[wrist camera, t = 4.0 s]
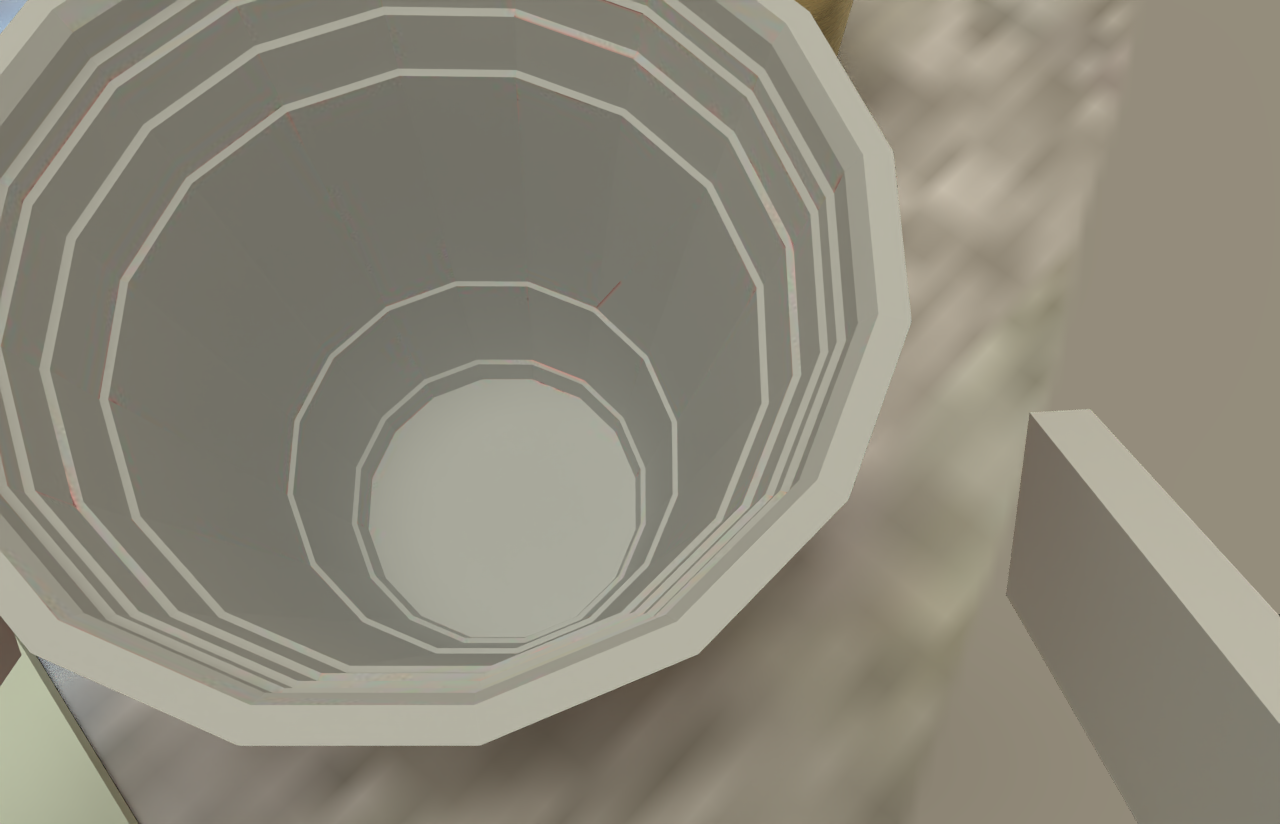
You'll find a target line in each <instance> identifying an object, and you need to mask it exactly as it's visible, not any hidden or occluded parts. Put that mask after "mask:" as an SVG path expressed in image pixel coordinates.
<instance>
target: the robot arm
mask: <svg viewBox="0 0 1280 824" xmlns="http://www.w3.org/2000/svg"><path fill="white" fill-rule="evenodd" d="M1006 596H1007V597H1008V599H1009V601H1010V602H1011V604H1012V606H1013V608H1014V609H1015V611H1016V613H1017V614H1018V616H1019V618H1020V620H1021V621H1022V623H1023V625H1024V626H1025V628H1026V630H1027V632H1028V634H1029V635H1030V637H1031V639H1032V641H1033V642H1034V644H1035V646H1036V648H1037V649H1038V651H1039V653H1040V654H1041V656H1042V658H1043V660H1044V661H1045V663H1046V665H1047V666H1048V668H1049V670H1050V672H1051V674H1052V675H1053V677H1054V679H1055V680H1056V682H1057V684H1058V686H1059V687H1060V689H1061V691H1062V693H1063V694H1064V696H1065V698H1066V699H1067V701H1068V703H1069V705H1070V706H1071V708H1072V710H1073V711H1074V713H1075V715H1076V717H1077V719H1078V720H1079V722H1080V724H1081V725H1082V727H1083V729H1084V731H1085V732H1086V734H1087V736H1088V738H1089V739H1090V741H1091V743H1092V745H1093V746H1094V748H1095V750H1096V752H1097V753H1098V755H1099V757H1100V758H1101V760H1102V762H1103V764H1104V765H1105V767H1106V769H1107V771H1108V772H1109V774H1110V776H1111V778H1112V779H1113V781H1114V783H1115V785H1116V786H1117V788H1118V790H1119V791H1120V793H1121V795H1122V797H1123V798H1124V800H1125V802H1126V803H1127V805H1128V807H1129V809H1130V811H1131V812H1132V814H1133V816H1134V817H1135V819H1136V821H1137V823H1138V824H1280V614H1279V615H1278V614H1277V613H1276V612H1275V611H1274V610H1273V608H1271V606H1270V605H1269V604H1268V603H1267V602H1266V601H1265V600H1264V599H1263V598H1262V596H1261V595H1260V594H1259V593H1258V592H1257V591H1256V590H1255V589H1254V588H1253V587H1252V585H1251V584H1250V583H1249V582H1248V581H1247V580H1246V579H1245V578H1244V577H1243V576H1242V575H1241V573H1240V572H1239V571H1238V570H1237V569H1236V568H1235V567H1234V566H1233V565H1232V564H1231V562H1230V561H1229V560H1228V559H1227V558H1226V557H1225V556H1224V555H1223V554H1222V553H1221V552H1220V550H1219V549H1218V548H1217V547H1216V546H1215V545H1214V544H1213V543H1212V542H1211V541H1210V539H1209V538H1208V537H1207V536H1206V535H1205V534H1204V533H1203V532H1202V531H1201V530H1200V529H1199V527H1198V526H1197V525H1196V524H1195V523H1194V522H1193V521H1192V520H1191V519H1190V518H1189V517H1188V515H1187V514H1186V513H1185V512H1184V511H1183V510H1182V509H1181V508H1180V507H1179V506H1178V504H1177V503H1176V502H1175V501H1174V500H1173V499H1172V498H1171V497H1170V496H1169V495H1168V494H1167V493H1166V491H1165V490H1164V489H1163V488H1162V487H1161V486H1160V485H1159V484H1158V483H1157V482H1156V480H1155V479H1154V478H1153V477H1152V476H1151V475H1150V474H1149V473H1148V472H1147V471H1146V470H1145V468H1143V466H1142V465H1141V464H1140V463H1139V462H1138V461H1137V460H1136V459H1135V458H1134V456H1132V454H1131V453H1130V452H1129V451H1128V450H1127V449H1126V448H1125V447H1124V446H1123V444H1122V443H1121V442H1120V441H1119V440H1118V439H1117V438H1116V437H1115V436H1114V435H1113V433H1112V432H1111V431H1110V430H1109V429H1108V428H1107V427H1106V426H1105V425H1104V424H1103V422H1102V421H1101V420H1100V419H1099V418H1098V417H1097V416H1096V415H1095V414H1094V413H1093V412H1092V410H1091V409H1084V410H1066V411H1048V412H1030V414H1029V421H1028V429H1027V437H1026V445H1025V452H1024V460H1023V468H1022V476H1021V483H1020V491H1019V499H1018V506H1017V514H1016V522H1015V531H1014V537H1013V545H1012V553H1011V561H1010V569H1009V576H1008V584H1007V592H1006ZM20 657H21V652H20V649H19V646H18V643H17V640H16V637H15V634H14V632H13V631H12V629H11V628H10V627H9V626H8V624H7V623H6V622H5V621H4V620H3V618H2V617H1V616H0V686H1V685H2V683H3V682H4V680H5V679H6V677H7V676H8V674H9V673H10V671H11V670H12V668H13V667H14V666H15V664H16V663H17V661H18V660H19V658H20Z"/></svg>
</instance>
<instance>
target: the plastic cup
mask: <svg viewBox="0 0 1280 824" xmlns="http://www.w3.org/2000/svg"><path fill="white" fill-rule="evenodd" d="M911 322H912V320H911V310H910V301H909V292H908V283H907V274H906V264H905V255H904V246H903V237H902V228H901V218H900V209H899V200H898V191H897V181H896V172H895V163H894V154H893V150H892V149H891V147H890V145H889V144H888V142H887V140H886V139H885V137H884V135H883V134H882V132H881V130H880V129H879V127H878V125H877V124H876V122H875V120H874V119H873V117H872V115H871V114H870V112H869V110H868V109H867V107H866V105H865V104H864V102H863V100H862V98H861V97H860V95H859V93H858V92H857V90H856V88H855V87H854V85H853V83H852V82H851V80H850V78H849V77H848V75H847V73H846V72H845V70H844V68H843V67H842V65H841V63H840V62H839V60H838V58H837V57H836V55H835V53H834V52H833V50H832V48H831V47H830V45H829V43H828V42H827V40H826V38H825V37H824V35H823V33H822V32H821V30H820V28H819V26H818V25H817V23H816V21H815V20H814V18H813V16H812V15H811V13H810V12H809V11H808V10H807V9H805V8H804V7H803V6H801V5H800V4H799V3H797V2H796V1H795V0H28V1H27V2H26V3H25V4H24V6H23V7H22V8H21V9H20V11H19V12H18V13H17V14H16V16H15V17H14V18H13V19H12V21H11V22H10V23H9V24H8V26H7V27H6V28H5V29H4V31H3V32H2V33H1V34H0V616H1V617H2V618H3V620H4V621H5V622H6V623H7V624H8V626H9V627H10V628H11V629H12V631H13V632H14V633H15V634H16V636H17V637H18V638H19V639H20V641H21V642H22V643H23V644H24V645H25V647H26V648H27V649H28V650H29V652H30V653H32V654H34V655H36V656H38V657H41V658H43V659H45V660H47V661H49V662H52V663H54V664H56V665H58V666H61V667H63V668H65V669H67V670H70V671H72V672H74V673H76V674H79V675H81V676H83V677H85V678H87V679H90V680H92V681H94V682H96V683H99V684H101V685H103V686H105V687H108V688H110V689H112V690H114V691H117V692H119V693H121V694H123V695H125V696H128V697H130V698H132V699H134V700H137V701H139V702H141V703H143V704H146V705H148V706H150V707H152V708H155V709H157V710H159V711H161V712H164V713H166V714H168V715H170V716H172V717H175V718H177V719H179V720H181V721H184V722H186V723H188V724H190V725H193V726H195V727H197V728H199V729H202V730H204V731H206V732H208V733H210V734H213V735H215V736H217V737H219V738H222V739H224V740H226V741H228V742H231V743H233V744H235V745H237V746H481V745H483V744H485V743H488V742H490V741H492V740H495V739H497V738H500V737H502V736H504V735H507V734H509V733H512V732H514V731H516V730H519V729H521V728H523V727H526V726H528V725H531V724H533V723H535V722H538V721H540V720H543V719H545V718H547V717H550V716H552V715H554V714H557V713H559V712H562V711H564V710H566V709H569V708H571V707H574V706H576V705H578V704H581V703H583V702H585V701H588V700H590V699H593V698H595V697H597V696H600V695H602V694H605V693H607V692H609V691H612V690H614V689H616V688H619V687H621V686H624V685H626V684H628V683H631V682H633V681H636V680H638V679H640V678H643V677H645V676H647V675H650V674H652V673H655V672H657V671H659V670H662V669H664V668H667V667H669V666H671V665H674V664H676V663H678V662H681V661H683V660H686V659H688V658H690V657H693V656H695V655H698V654H699V653H700V652H701V651H702V650H703V649H704V648H705V647H706V646H707V645H708V644H709V643H710V642H711V641H712V640H713V639H714V638H715V637H716V636H717V635H718V634H719V632H720V631H721V630H722V629H723V628H724V627H725V626H726V625H727V624H728V623H729V622H730V621H731V620H732V619H733V618H734V617H735V616H736V615H737V614H738V613H739V612H740V611H741V610H742V609H743V608H744V607H745V606H746V605H747V604H748V603H749V602H750V601H751V600H752V599H753V597H754V596H755V595H756V594H757V593H758V592H759V591H760V590H761V589H762V588H763V587H764V586H765V585H766V584H767V583H768V582H769V581H770V580H771V579H772V578H773V577H774V576H775V575H776V574H777V573H778V572H779V571H780V570H781V569H782V568H783V567H784V566H785V565H786V563H787V562H788V561H789V560H790V559H791V558H792V557H793V556H794V555H795V554H796V553H797V552H798V551H799V550H800V549H801V548H802V547H803V546H804V545H805V544H806V543H807V542H808V541H809V540H810V539H811V538H812V537H813V536H814V535H815V534H816V533H817V532H818V531H819V530H820V528H821V527H822V526H823V525H824V524H825V523H826V522H827V521H828V520H829V519H830V518H831V517H832V516H833V515H834V514H835V513H836V512H837V511H838V510H839V509H840V508H841V507H842V506H843V505H844V504H845V503H846V502H847V501H848V500H849V497H850V494H851V491H852V488H853V485H854V483H855V480H856V477H857V474H858V471H859V469H860V466H861V463H862V460H863V457H864V454H865V452H866V449H867V446H868V443H869V440H870V437H871V435H872V432H873V429H874V426H875V423H876V421H877V418H878V415H879V412H880V409H881V406H882V404H883V401H884V398H885V395H886V392H887V390H888V387H889V384H890V381H891V378H892V375H893V373H894V370H895V367H896V364H897V361H898V358H899V356H900V353H901V350H902V347H903V344H904V342H905V339H906V336H907V333H908V330H909V327H910V325H911Z"/></svg>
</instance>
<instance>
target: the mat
mask: <svg viewBox="0 0 1280 824" xmlns="http://www.w3.org/2000/svg"><path fill="white" fill-rule="evenodd" d="M14 634H15V633H14ZM15 637H16V640H17V643H18V646H19V649H20V652H21V657H20V658H19V660H18V661H17V663H16V664H15V666H14V667H13V668H12V670H11V671H10V673H9V674H8V676H7V677H6V679H5V680H4V682H3V683H2V685H1V686H0V824H138V822H137V821H136V819H135V817H134V816H133V814H132V812H131V811H130V809H129V807H128V806H127V804H126V802H125V801H124V799H123V798H122V796H121V794H120V793H119V791H118V789H117V788H116V786H115V784H114V783H113V781H112V779H111V778H110V776H109V775H108V773H107V771H106V770H105V768H104V766H103V765H102V763H101V761H100V760H99V758H98V757H97V755H96V753H95V752H94V750H93V748H92V747H91V745H90V743H89V742H88V740H87V738H86V737H85V735H84V734H83V732H82V730H81V729H80V727H79V725H78V724H77V722H76V720H75V719H74V717H73V715H72V714H71V712H70V711H69V709H68V707H67V706H66V704H65V702H64V701H63V699H62V697H61V696H60V694H59V692H58V691H57V689H56V688H55V686H54V684H53V683H52V681H51V679H50V678H49V676H48V674H47V673H46V671H45V669H44V668H43V666H42V665H41V663H40V661H39V660H38V658H37V656H36V655H34V654H32V653H30V652H29V650H28V649H27V648H26V647H25V645H24V644H23V643H22V642H21V641H20V639H19V638H18V637H17V636H16V634H15Z"/></svg>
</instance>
